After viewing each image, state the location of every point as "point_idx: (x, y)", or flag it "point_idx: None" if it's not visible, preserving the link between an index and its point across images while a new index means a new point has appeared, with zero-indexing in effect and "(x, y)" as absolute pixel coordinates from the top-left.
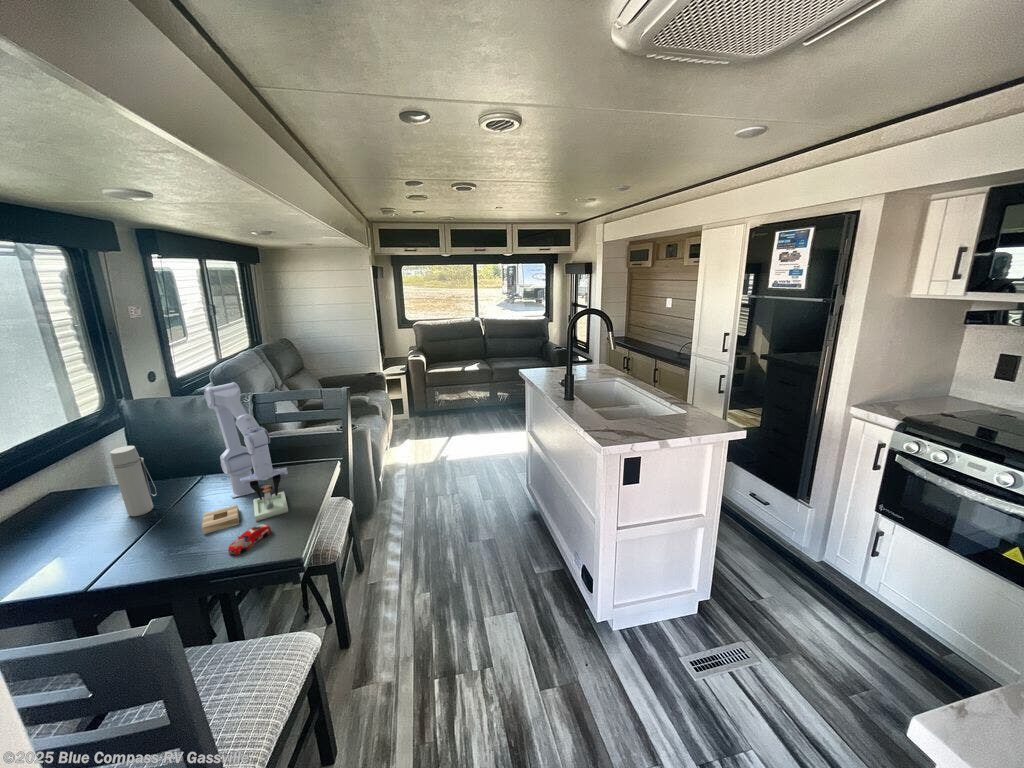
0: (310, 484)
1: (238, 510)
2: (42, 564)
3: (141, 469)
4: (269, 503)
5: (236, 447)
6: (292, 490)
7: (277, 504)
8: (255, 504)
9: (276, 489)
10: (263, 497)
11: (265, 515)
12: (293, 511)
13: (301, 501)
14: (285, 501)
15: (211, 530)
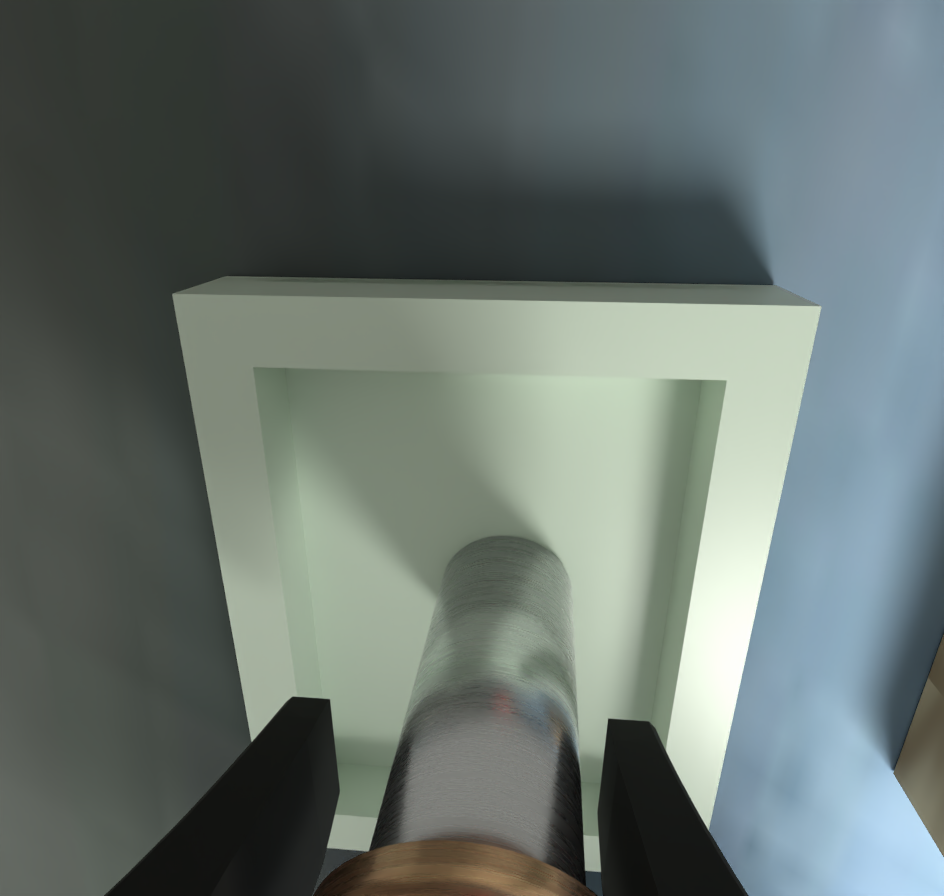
0: (5, 836)
1: (924, 758)
2: None
3: None
4: (488, 595)
5: None
6: None
7: (387, 594)
8: (700, 735)
9: (201, 832)
10: (575, 758)
11: (606, 292)
12: (144, 235)
13: (54, 495)
14: (229, 538)
15: None
